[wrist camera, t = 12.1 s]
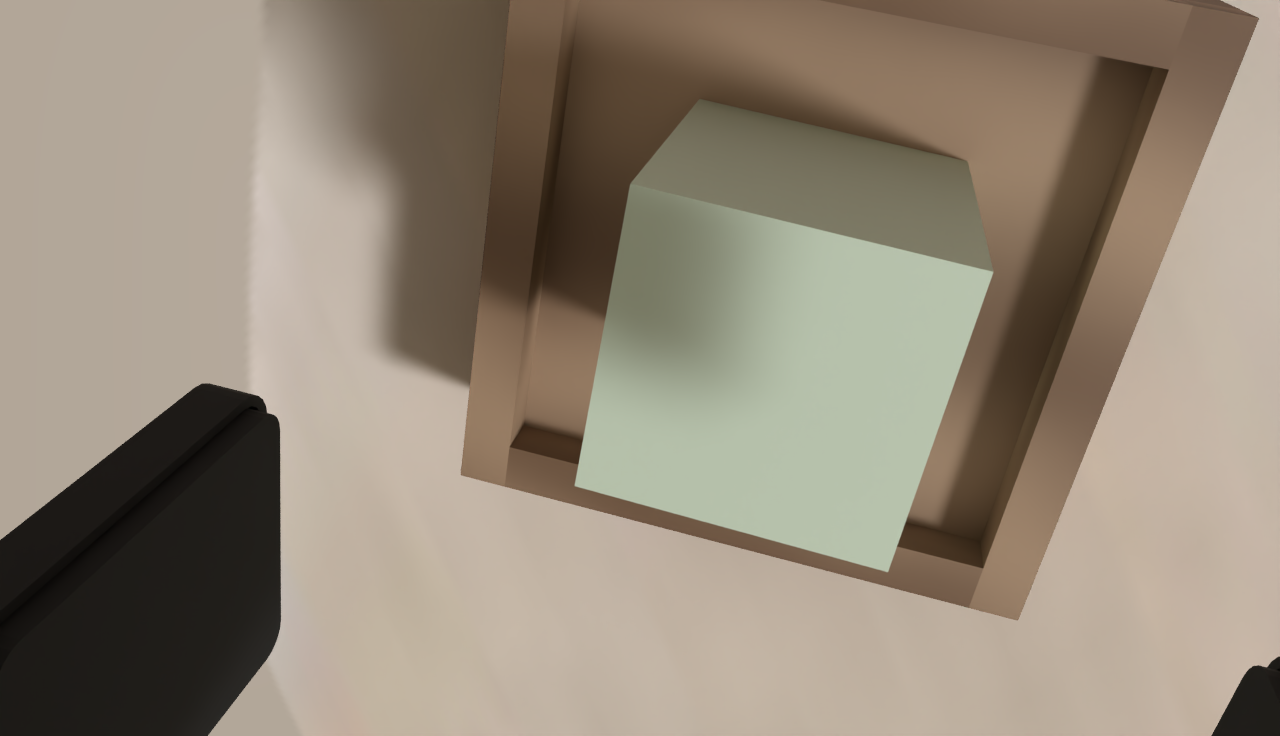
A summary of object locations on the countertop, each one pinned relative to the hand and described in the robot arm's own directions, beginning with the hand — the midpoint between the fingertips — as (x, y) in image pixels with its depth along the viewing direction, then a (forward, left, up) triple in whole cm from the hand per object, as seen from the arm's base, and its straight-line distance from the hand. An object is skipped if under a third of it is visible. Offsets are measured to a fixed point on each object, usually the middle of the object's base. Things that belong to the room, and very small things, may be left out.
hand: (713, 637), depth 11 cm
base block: (0, 0, -15) cm, 15 cm away
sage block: (0, 0, -12) cm, 12 cm away
